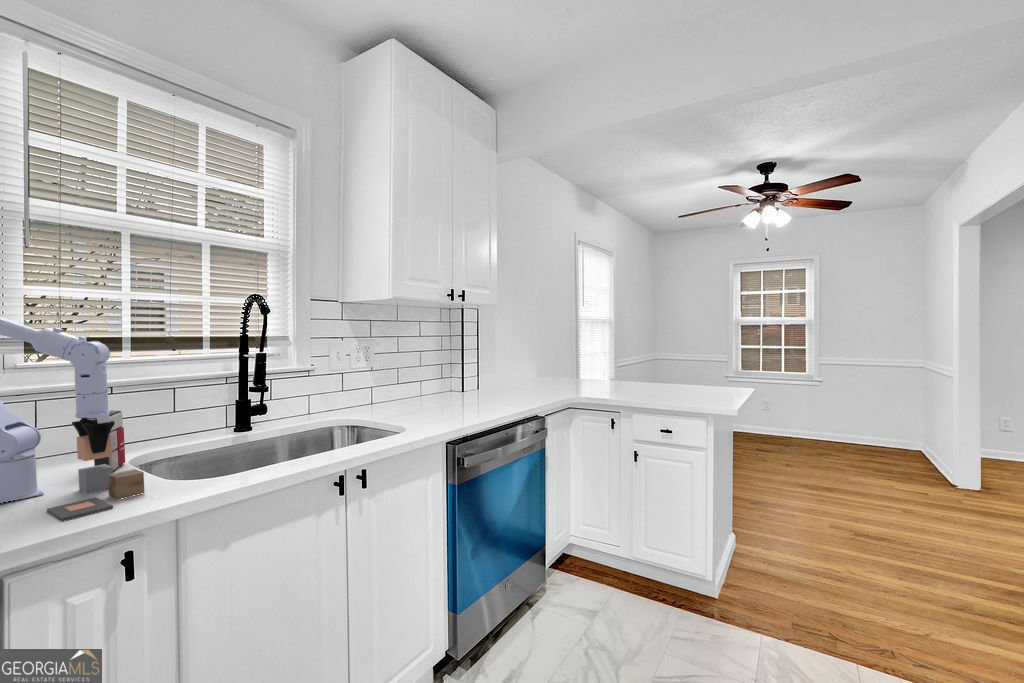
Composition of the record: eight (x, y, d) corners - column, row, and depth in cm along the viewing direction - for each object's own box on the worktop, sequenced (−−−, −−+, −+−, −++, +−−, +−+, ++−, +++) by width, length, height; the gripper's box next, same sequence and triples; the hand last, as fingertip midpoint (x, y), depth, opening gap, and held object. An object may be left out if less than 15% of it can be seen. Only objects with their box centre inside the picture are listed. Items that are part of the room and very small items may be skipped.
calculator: (112, 473, 129) (109, 416, 129) (91, 475, 128) (88, 417, 127) (127, 463, 139) (124, 410, 139) (108, 465, 138) (105, 411, 137)
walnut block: (109, 496, 111) (108, 474, 111) (135, 490, 115) (134, 468, 115) (117, 500, 108) (116, 477, 108) (144, 494, 112) (143, 472, 112)
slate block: (79, 490, 116) (78, 469, 116) (105, 484, 120) (104, 464, 120) (86, 494, 113) (85, 472, 113) (113, 487, 117) (112, 466, 117)
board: (46, 511, 102) (46, 507, 102) (95, 499, 109) (95, 496, 109) (62, 521, 96) (62, 517, 96) (112, 508, 103) (112, 504, 103)
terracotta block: (77, 458, 116) (76, 437, 116) (104, 453, 120) (103, 432, 120) (85, 461, 113) (83, 439, 113) (112, 456, 117) (110, 434, 117)
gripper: (124, 392, 115) (127, 450, 116) (101, 389, 123) (104, 443, 124) (85, 396, 109) (88, 457, 110) (64, 393, 118) (67, 450, 118)
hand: (94, 451), depth 116 cm, fingers closed on terracotta block, 5 cm apart
